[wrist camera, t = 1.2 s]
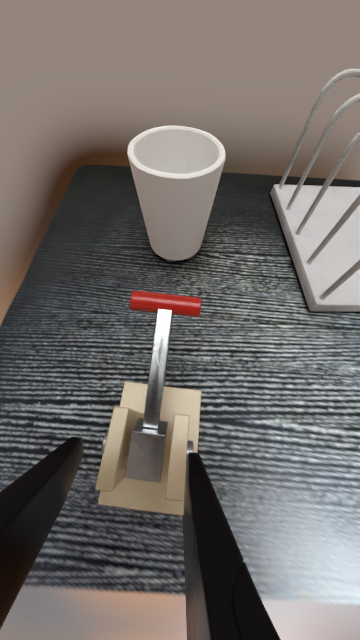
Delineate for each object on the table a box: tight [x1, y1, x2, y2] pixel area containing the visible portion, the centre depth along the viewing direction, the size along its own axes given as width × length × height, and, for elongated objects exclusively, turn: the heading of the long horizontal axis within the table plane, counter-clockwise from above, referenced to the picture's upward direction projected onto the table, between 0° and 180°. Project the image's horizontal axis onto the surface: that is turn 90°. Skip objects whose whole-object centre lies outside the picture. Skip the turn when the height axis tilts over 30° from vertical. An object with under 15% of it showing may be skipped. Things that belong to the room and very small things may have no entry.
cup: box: [128, 126, 225, 262], centre depth 27 cm, size 10×10×13 cm
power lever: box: [125, 291, 201, 482], centre depth 15 cm, size 12×5×2 cm, turn 173°
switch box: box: [95, 382, 201, 516], centre depth 17 cm, size 10×8×9 cm
